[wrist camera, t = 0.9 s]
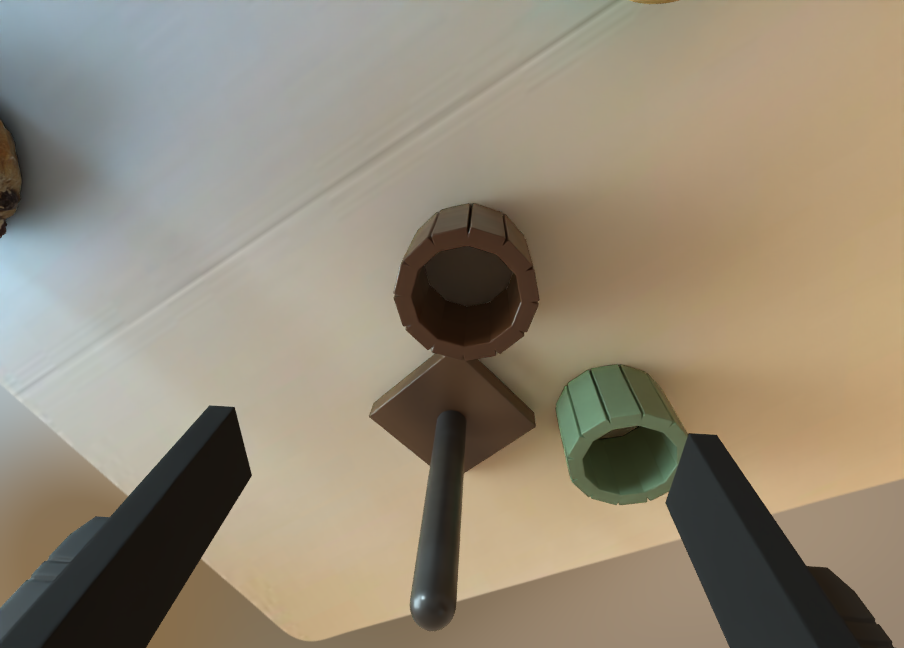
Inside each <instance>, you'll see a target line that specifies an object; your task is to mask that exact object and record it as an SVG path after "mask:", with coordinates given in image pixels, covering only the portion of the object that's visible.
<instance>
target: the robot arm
mask: <svg viewBox="0 0 904 648" xmlns="http://www.w3.org/2000/svg"><path fill="white" fill-rule="evenodd" d="M251 476H252V474H251V470H250V466H249V462H248V458H247V455H246V451H245V447H244V443H243V439H242V435H241V431H240V427H239V423H238V419H237V415H236V411H235V407H225V406H209V407H208V408H207V409H206V410H205V411H204V412H203V413H202V415H201V416H200V417H199V418H198V419H197V420H196V421H195V422H194V423H193V425H192V426H191V427H190V428H189V429H188V430H187V431H186V432H185V434H184V435H183V436H182V437H181V438H180V439H179V440H178V441H177V443H176V444H175V445H174V446H173V447H172V448H171V449H170V450H169V451H168V453H167V454H166V455H165V456H164V457H163V458H162V459H161V460H160V462H159V463H158V464H157V465H156V466H155V467H154V468H153V469H152V471H151V472H150V473H149V474H148V475H147V476H146V477H145V478H144V480H143V481H142V482H141V483H140V484H139V485H138V486H137V487H136V488H135V490H134V491H133V492H132V493H131V494H130V495H129V496H128V497H127V499H126V500H125V501H124V502H123V503H122V504H121V505H120V507H119V508H118V509H117V510H116V511H115V512H114V513H113V514H112V515H111V517H95V518H93V519H92V520H90V521H89V522H87V523H86V524H84V525H83V526H81V527H80V528H79V529H77V530H76V531H74V532H73V533H71V534H70V535H69V536H68V537H67V538H66V539H65V540H64V541H63V542H62V543H61V544H60V545H59V547H58V548H57V549H56V550H55V551H54V552H53V553H52V554H51V555H50V556H49V559H48V561H44V562H43V563H42V564H41V566H40V567H39V568H38V569H37V570H36V571H35V572H34V573H33V574H32V576H31V579H30V580H26V581H25V582H24V583H23V584H22V585H21V587H20V588H19V589H18V590H17V591H16V592H15V593H14V594H13V595H12V596H11V597H10V598H9V599H8V600H7V601H6V602H5V603H4V604H3V606H2V607H1V608H0V648H146V647H147V645H148V643H149V642H150V640H151V638H152V637H153V635H154V634H155V632H156V630H157V629H158V627H159V625H160V624H161V622H162V621H163V619H164V617H165V616H166V614H167V612H168V611H169V609H170V608H171V606H172V604H173V603H174V601H175V599H176V598H177V596H178V595H179V593H180V591H181V590H182V588H183V586H184V585H185V583H186V582H187V580H188V578H189V576H190V575H191V573H192V572H193V570H194V569H195V567H196V565H197V564H198V562H199V561H200V559H201V557H202V556H203V554H204V552H205V551H206V549H207V548H208V546H209V544H210V543H211V541H212V539H213V538H214V536H215V535H216V533H217V531H218V530H219V528H220V526H221V525H222V523H223V522H224V520H225V518H226V517H227V515H228V513H229V512H230V510H231V509H232V507H233V505H234V504H235V502H236V500H237V499H238V497H239V496H240V494H241V492H242V491H243V489H244V487H245V486H246V484H247V483H248V481H249V479H250V478H251ZM666 505H667V507H668V510H669V512H670V514H671V516H672V519H673V521H674V523H675V525H676V528H677V530H678V532H679V534H680V537H681V539H682V541H683V543H684V545H685V548H686V550H687V552H688V555H689V557H690V559H691V561H692V564H693V566H694V568H695V570H696V573H697V575H698V577H699V579H700V581H701V584H702V586H703V588H704V591H705V593H706V595H707V597H708V599H709V602H710V604H711V606H712V609H713V611H714V613H715V615H716V618H717V620H718V622H719V624H720V627H721V629H722V631H723V633H724V636H725V638H726V640H727V642H728V645H729V647H730V648H894V647H893V645H892V641H891V640H890V638H889V637H888V636H887V634H886V633H885V632H884V630H883V629H882V628H881V626H880V625H879V624H876V622H875V618H874V617H873V616H872V614H871V613H870V612H869V610H868V609H867V607H866V606H865V605H864V603H863V602H862V601H861V600H860V598H859V597H858V595H857V594H856V593H855V591H853V590H852V589H851V588H850V587H849V586H848V585H847V584H845V583H844V582H843V581H842V580H841V579H840V578H839V577H838V576H836V575H835V574H834V573H833V572H832V571H831V570H830V569H828V568H824V567H810V566H806V565H805V564H804V562H803V561H802V559H801V558H800V556H799V555H798V553H797V552H796V550H795V549H794V547H793V546H792V544H791V543H790V542H789V540H788V539H787V537H786V536H785V534H784V533H783V531H782V530H781V528H780V527H779V525H778V524H777V523H776V521H775V520H774V518H773V517H772V515H771V514H770V512H769V511H768V509H767V508H766V506H765V505H764V503H763V502H762V501H761V499H760V498H759V496H758V495H757V493H756V492H755V490H754V489H753V487H752V486H751V484H750V483H749V482H748V480H747V479H746V477H745V476H744V474H743V473H742V471H741V470H740V468H739V467H738V465H737V464H736V462H735V461H734V460H733V458H732V457H731V455H730V454H729V452H728V451H727V449H726V448H725V446H724V445H723V443H722V442H721V441H720V439H719V438H718V436H717V435H708V434H691V433H689V434H688V437H687V440H686V443H685V446H684V449H683V452H682V455H681V458H680V461H679V464H678V467H677V470H676V473H675V476H674V479H673V482H672V485H671V488H670V491H669V494H668V497H667V500H666Z"/></svg>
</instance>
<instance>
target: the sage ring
mask: <svg viewBox="0 0 904 648" xmlns="http://www.w3.org/2000/svg"><path fill="white" fill-rule="evenodd" d="M556 414H557V419H558V425H559V430H560V434H561V439H562V443H563V448H564V453H565V457H566V462H567V466H568V471H569V475H570V479H571V480H572V482H573V483H574V484H575V485H576V486H577V487H578V488H579V489H580V490H581V491H582V492H583V493H585V494H586V495H587V496H588V497H590V496H591V499H595V500H599V501H603V502H606V503H610V504H614V505H617V503H619V505H626V504H635V503H644V502H647V498H648V499H649V500H650V501H651V500H653V499H655V498H657V497H659V496H661V495H663V494H665V493H667V492H669V491H670V488H671V485H672V482H673V479H674V476H675V473H676V470H677V467H678V464H679V461H680V458H681V455H682V452H683V449H684V446H685V443H686V440H687V437H688V433H687V431H686V430H685V428H684V426H683V425H682V423H681V421H680V420H679V418H678V416H677V415H676V413H675V411H674V410H673V408H672V406H671V405H670V403H669V401H668V399H667V398H666V396H665V394H664V393H663V391H662V389H661V388H660V387H659V386H658V385H657V383H656V382H655V381H654V380H653V379H652V378H651V377H650V376H649V375H648V374H647V373H645V372H644V371H641V370H638V369H635V368H631V367H628V366H624V365H620V366H618V365H617V364H616V365H610V366H604V367H598V368H592V369H591V372H590V371H589V370H587V371H585V372H584V373H582V374H581V375H579V376H578V377H576V378H575V379H573V380H572V381H570V382H569V383H568V386H565V388H564V390H563V392H562V393H561V395H560V397H559V399H558V401H557V403H556ZM634 426H640V427H638V428H636V429H635V430H633V431H631V432H630V433H628V434H626V435H624V436H623V437H615V438H608V439H599V438H600V437H601V436H603V435H605V434H607V433H608V432H610V431H612V430H613V429H620V428H627V427H634Z"/></svg>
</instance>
